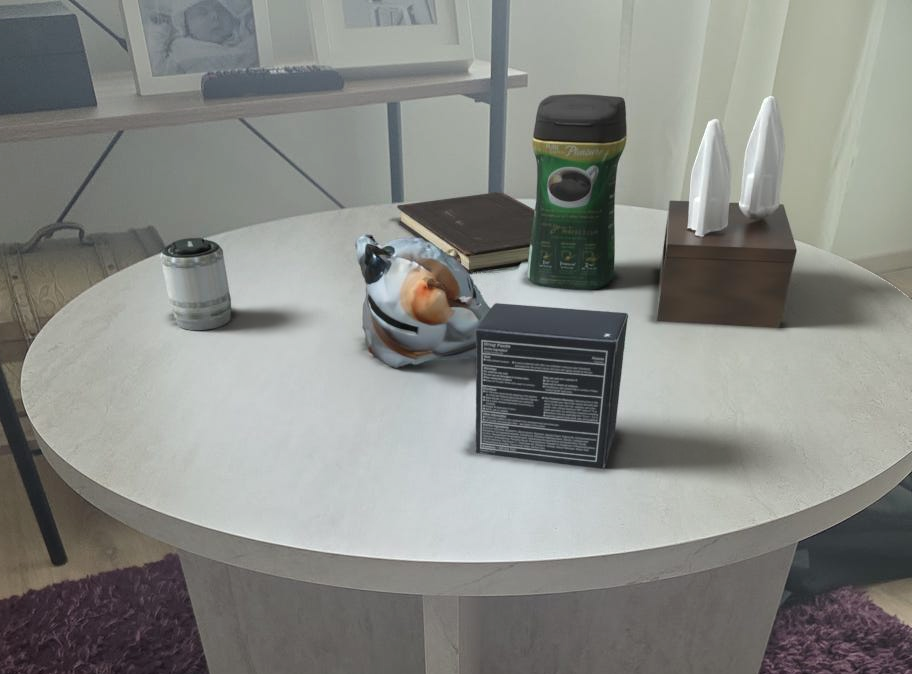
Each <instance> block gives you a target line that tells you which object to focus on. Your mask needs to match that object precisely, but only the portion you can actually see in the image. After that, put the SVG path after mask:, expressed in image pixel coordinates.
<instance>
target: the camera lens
mask: <svg viewBox="0 0 912 674" xmlns="http://www.w3.org/2000/svg"><path fill="white" fill-rule="evenodd" d="M159 257H160V262H161V268H162V271H163V277H164V281H165V282H164V283H165V286H166V290H167V296H168V299H169V305H170V308H171V311H172V314H173V317H174V319H175V320H176V323H177V325H178V327H180V328H182V329H185V330H189V331H206V330H213V329H216V328H220V327H223V326H224V325H226V324H228V323H229V322H230V321H231V319H232V314H231V311H232V297H231V293H230V287H229V281H228V274H227V268H226V264H225V262H226V261H225V257H224V250H223V248H222V247H221V246H220V245H219V243H217V242H216V241H213V240H209V239H207V238H205V239H204V238H203V237H189V238H188V237H187V238H181V239H177V240H174V241H173V242H172V243H170V244H168V245H166V246H164V248H163V249H162V250H161V253H160V256H159Z"/></svg>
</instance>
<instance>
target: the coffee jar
mask: <svg viewBox="0 0 912 674" xmlns="http://www.w3.org/2000/svg"><path fill="white" fill-rule="evenodd" d="M534 122H535V123H534V128H533V134H532V149H533V154H534V157H535V160H536V191H535V205H534V210H535V212H534V221H533V228H532V236H531V243H530V251H529V259H528V261H527V273H526V274H527V279H528V281H529V282H530V283H531V284H532V285H534V286H538V287H545V288H553V289H560V290H561V289H563V290H575V291H596V290H599V289H602V288H604V287H607V286H608V285H609V284H610V283H611V281H612V280H613V277H614V273H615V258H616V255H615V254H616V243H615V242H616V238H615V237H616V236H615V235H616V233H615V232H616V231H615V230H616V229H615V226H616V225H615V212H616V211H615V209H616V208H615V207H616V205H615V204H616V186H617V173H618V165H619V161H620V158H621V156H622V155H623V152H624V150H625V148H626V145H627V144H626V143H627V138H628V134H627V133H628V132H627V129H628V128H627V108H626V101H625V99H624V98H623V97H622V96H612V95H601V94H589V93H587V94H586V93H584V94H582V93H570V94H569V93H568V94H552V95H551V94H550V95H548V96H547V97H545V98H543V99H542V100H541V101H540V102H539V103H538V107H537V111H536V116H535V121H534Z"/></svg>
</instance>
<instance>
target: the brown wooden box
mask: <svg viewBox="0 0 912 674" xmlns="http://www.w3.org/2000/svg"><path fill="white" fill-rule="evenodd" d="M668 202H669V203H668V208H667V209H668V211H667V218H666V224H665V230H664V231H665V232H664V239H663V247H662V254H661V261H660V269H659V279H658V280H659V281H658V294H657V295H658V296H657V307H656V308H657V309H656V310H657V311H656V322H661V323H662V322H663V323H665V322H666V323H678V324H679V323H682V324H696V325H697V324H698V325H713V326H715V325H716V326H734V327H752V328H768V329H779V328H780V327H781V322H782V317H783V313H784V308H785V305H786V301H787V296H788V291H789V287H790V282H791V277H792V274H793V269H794V265H795V260H796V256H797V251H798V249H797V245H796V242H795V239H794V235H793V233H792V229H791V226H790V222H789V218H788V214H787V211H786V208H785V205H784V204H783V203H782V204H781V203H780V204H779V206H778V208H777V209H776V210H775V211H774V212H773V213H772V214H771V215H769V216H767V217H766V218H764V219H762V220H759V221H756V220H751V219H750V218H748V217H746V216H745V214H744V213H743V212H742V211H741V209H740V207H739V202H729V213H728V224H727V226H726V227H725V228H723V229H722V230H719V231H713V232H712V231H710V232H708V233H706V234H705V235H704V236H701V237H700V236H697V235H695V232H696V230H693V229H691V228H687V227H688V216H689V200H669V201H668Z"/></svg>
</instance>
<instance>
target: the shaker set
mask: <svg viewBox="0 0 912 674" xmlns="http://www.w3.org/2000/svg"><path fill="white" fill-rule="evenodd" d="M785 151H786V141H785V134H784V129H783V123H782V117H781V114H780V108H779V104H778V101H777V98H776V97H775V96H773V95H769V96H768V97H765V98H764V99H763V100H762V104H761V106H760V109H759V111H758V114H757V117H756V120H755V122H754V125H753V127H752V131H751V133H750V136H749V139H748V141H747V144H746V147H745V151H744V159H743V170H742V179H741V180H742V181H741V190H740V191H741V193H740V200H739V201H738V203H739V207H740V209H741V211H742V212H743V213H744V214H745V216H746V217H748V218H750V219H751V220H756V221H759V220H762V219H764V218H766V217H767V216H769V215H771V214H772V213H773V212H774V211H775V210H776V209H777V208H778V206H779V204H781V199H780V198H781V197H780V196H781V189H782V182H783V170H784V162H785V153H786V152H785ZM731 183H732V164H731V158H730V152H729V148H728V144H727V140H726V135H725V131H724V127H723V124H722V122H721V120H720V119H717V118H713V119H711V120H709V121H708V122H707V125H706V128H705V131H704V133H703V136H702V139H701V142H700V145H699V147H698V151H697V153H696V157H695V160H694V163H693V166H692V169H691V173H690V183H689V200H688V201H689V216H688V227H687V228H691V229H693V230H696V232H695V235H697V236H700V237H701V236H704V235H705V234H706V233H708V232H710V231H712V232H713V231H719V230H722V229H723V228H725V227H726V226H727V224H728V213H729V203H730V199H731V185H732V184H731Z"/></svg>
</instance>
